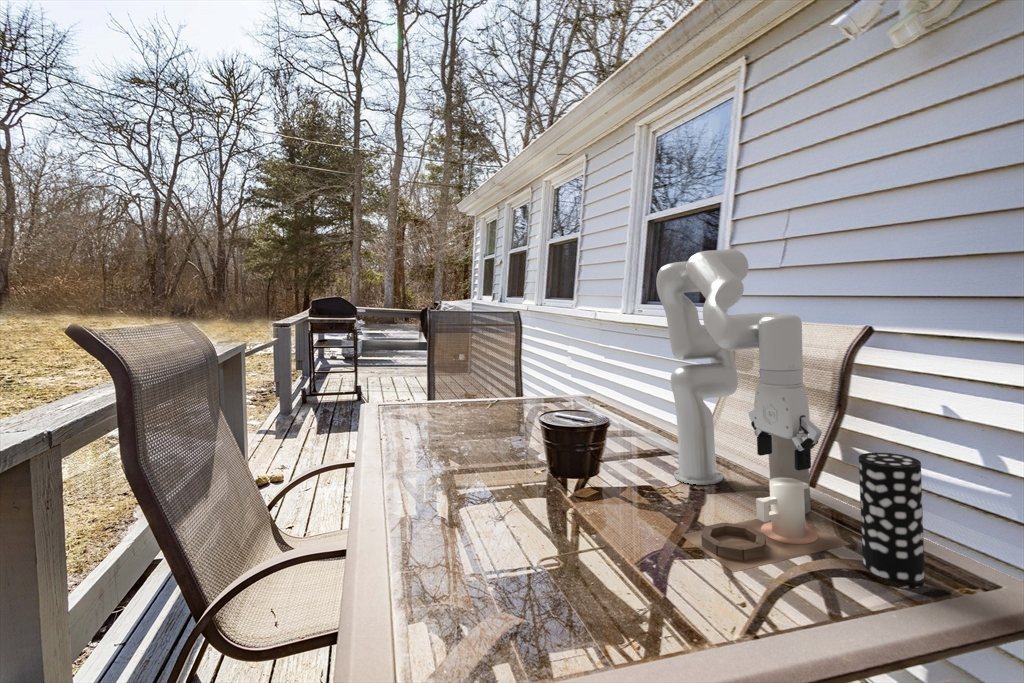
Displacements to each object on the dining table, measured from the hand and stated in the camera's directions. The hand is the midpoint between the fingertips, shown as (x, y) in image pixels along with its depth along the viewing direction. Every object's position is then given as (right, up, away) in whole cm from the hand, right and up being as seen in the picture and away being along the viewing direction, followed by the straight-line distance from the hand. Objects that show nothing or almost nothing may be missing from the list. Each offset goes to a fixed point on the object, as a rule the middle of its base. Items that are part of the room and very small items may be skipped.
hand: (782, 461), depth 99 cm
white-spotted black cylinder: (+10, -16, -15) cm, 24 cm away
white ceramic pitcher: (0, -14, 0) cm, 14 cm away
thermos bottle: (+10, -14, +15) cm, 23 cm away
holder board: (-5, -16, -2) cm, 17 cm away
